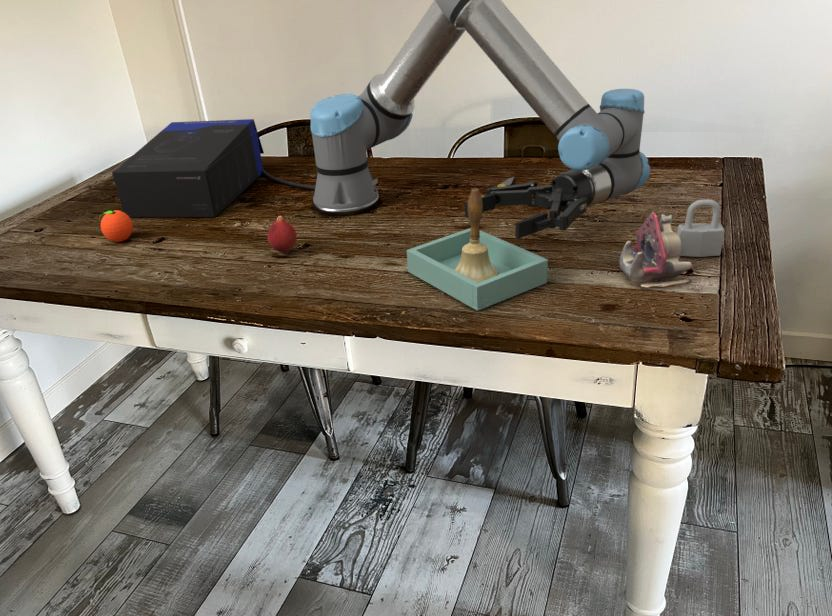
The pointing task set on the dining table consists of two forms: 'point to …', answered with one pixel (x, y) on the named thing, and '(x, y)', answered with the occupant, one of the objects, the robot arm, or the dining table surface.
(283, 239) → the onion
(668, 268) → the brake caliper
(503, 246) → the open box
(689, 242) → the padlock
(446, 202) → the dining table surface
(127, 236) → the clementine
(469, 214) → the hand bell
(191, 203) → the headphone box
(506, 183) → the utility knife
